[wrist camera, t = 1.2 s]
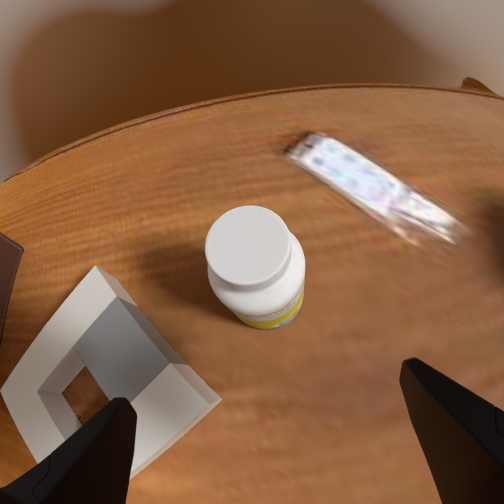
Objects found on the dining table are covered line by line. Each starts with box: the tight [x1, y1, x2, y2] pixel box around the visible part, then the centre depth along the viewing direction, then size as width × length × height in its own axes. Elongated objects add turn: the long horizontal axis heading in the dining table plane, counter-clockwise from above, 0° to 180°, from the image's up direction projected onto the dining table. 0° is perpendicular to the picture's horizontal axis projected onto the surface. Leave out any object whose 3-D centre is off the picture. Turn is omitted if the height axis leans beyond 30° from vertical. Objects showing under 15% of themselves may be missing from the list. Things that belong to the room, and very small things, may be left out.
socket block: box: [0, 266, 222, 480], centre depth 19 cm, size 14×18×4 cm
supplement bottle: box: [205, 206, 305, 330], centre depth 18 cm, size 5×5×10 cm
